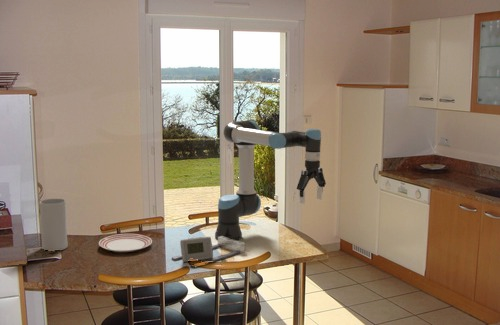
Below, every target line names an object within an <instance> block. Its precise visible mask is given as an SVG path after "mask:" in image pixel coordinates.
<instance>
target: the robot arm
mask: <svg viewBox="0 0 500 325" xmlns="http://www.w3.org/2000/svg"><path fill="white" fill-rule="evenodd" d="M223 137H224V139H225V140H226V141H227V142H229V143H235V145H236V147H237V148H238V189H237V191H236V194H225V195H223V196H221V197H220V198H219V199H218V203H217V207H218V208H217V210H218V211H217V212H218V213H217V215H218V216H217V217H218V220H217V222H218V223H217V227H216V231H215V233H214V239H216V240H218V237H220V236H224V237H227V238H230V239H234V240H237V241H240V240H241V239H242V238H243V233H242V230H241V226H240V218H241V217H245V216H251V215H253V214H256V213H258V212H259V211H260V209H261V207H262V201H261V198H260V196H259V195H258V191H257V190H255V170H254V168H255V165H254V164H255V161H254V159H255V158H254V157H255V154H254V153H255V147H256V146H257V145H259V146H264V147H265V146H267V147H271V148H272V149H274V150H276V149H277V150H281V149H285V148H294V147H301V148H302V147H303V148H305V153H304V154H305V155H304V168H305V170H304V169H303V170H301V173H300V178H299V180H298V183H297V186H296V190H298V191H299V203H300V204H305V203H306V190H305V189H306V187H307V185H308V184H309V181H310V180H312V179H314V180H315V181H316V184H317V187H316V188H317V190H316V199H317V200H323V191H324V189H323V188H324V187H325V186H326V185H327V183H326V179H325V176H324V173H323V172H324V171H323V168H322V167H321V166H320V165H321V161H320V159H321V146H322V143H321V142H322V132H321V129H318V128H307V129H306V130H305V132H304V131H299V130H290V131H288V132H277V131H269V130H263V129H261V128H260V126H259V125H258V123H257V122H256V121H254V120H240V121H239V120H238V121H230V122H229V123H227V124H226V125H225V126H224V128H223Z"/></svg>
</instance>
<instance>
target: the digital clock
mask: <svg viewBox="0 0 500 325" xmlns="http://www.w3.org/2000/svg"><path fill="white" fill-rule="evenodd" d="M179 242H180V243H179V244H180V251H181V253H180V254H181V255H182V259H181V261H182V262H183V263H189V262H188V260H189V259H190V258H193V259H198V260H201V261H205V260H208V259H211V258H214V253H213V250H214V249H213V250H212V246H213V243H212V238H211V236H201V237H200V236H199V237H191V238H190V237H189V238H186V239H181V240H179Z"/></svg>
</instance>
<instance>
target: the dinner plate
mask: <svg viewBox="0 0 500 325" xmlns="http://www.w3.org/2000/svg"><path fill="white" fill-rule="evenodd" d="M152 243H153V240H152V238H151V237H149V236H147V235H143V234H137V233H119V234H118V233H117V234H112V235H110V236H106V237H104V238H101V239H100V240H99V241H98V245H99V247H101V248H103V249H104V250H107V251H112V252H114V253H131V252H136V251H139V250H143V249H145V248H147V247H149V246H151V245H152Z"/></svg>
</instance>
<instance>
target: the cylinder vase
mask: <svg viewBox="0 0 500 325" xmlns="http://www.w3.org/2000/svg"><path fill="white" fill-rule="evenodd" d="M66 202H67V201H66V199H64V198H46V199H42V200H40V201H39V209H40V210H39V215H40V216H39V217H40V235H41V237H40V238H41V249H42V250H43V249H45V250H53V249H59V250H60V251H62V250H65V249H66V248H68V229H67V227H68V226H67V224H68V223H67V207H66V205H67V204H66ZM45 250H44V251H45Z"/></svg>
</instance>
